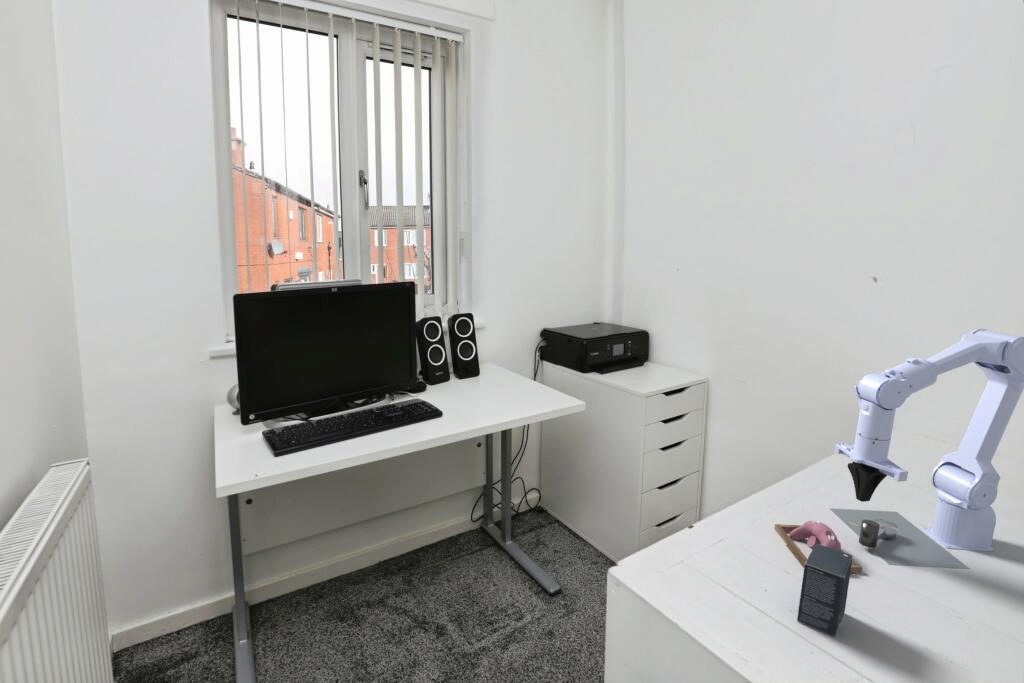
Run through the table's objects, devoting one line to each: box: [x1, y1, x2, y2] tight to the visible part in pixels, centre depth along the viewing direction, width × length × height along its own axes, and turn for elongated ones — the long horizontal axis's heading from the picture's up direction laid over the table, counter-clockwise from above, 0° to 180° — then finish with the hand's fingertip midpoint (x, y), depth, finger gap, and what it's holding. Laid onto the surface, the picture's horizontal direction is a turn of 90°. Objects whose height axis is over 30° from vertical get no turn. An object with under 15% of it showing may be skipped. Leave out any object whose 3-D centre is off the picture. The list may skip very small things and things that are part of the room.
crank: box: [858, 519, 898, 549], centre depth 113 cm, size 13×4×5 cm, turn 128°
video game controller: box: [788, 519, 842, 551], centre depth 109 cm, size 10×5×7 cm, turn 178°
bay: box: [774, 523, 863, 576], centre depth 110 cm, size 10×15×2 cm
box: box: [796, 544, 853, 637], centre depth 90 cm, size 8×6×11 cm
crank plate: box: [828, 507, 971, 570], centre depth 116 cm, size 15×22×1 cm
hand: (862, 499), depth 111 cm, fingers closed
